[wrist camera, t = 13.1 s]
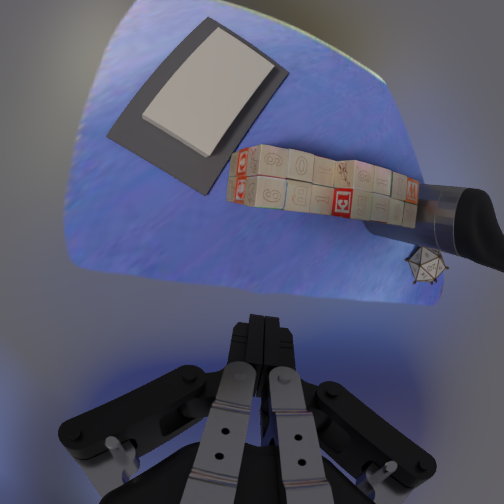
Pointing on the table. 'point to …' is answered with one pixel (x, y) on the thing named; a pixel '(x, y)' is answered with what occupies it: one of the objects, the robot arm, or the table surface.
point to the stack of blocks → (321, 186)
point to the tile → (208, 92)
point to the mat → (169, 148)
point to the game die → (426, 264)
